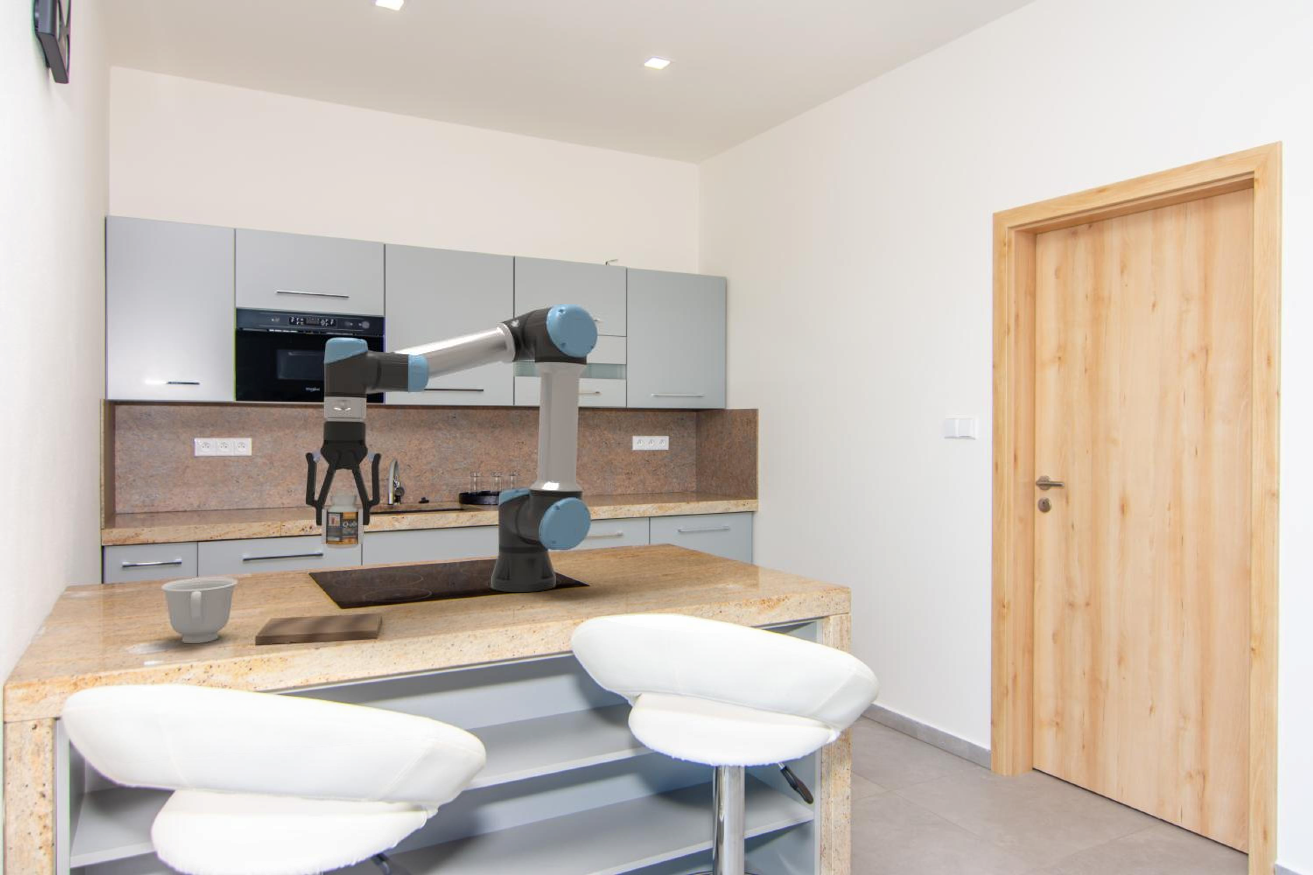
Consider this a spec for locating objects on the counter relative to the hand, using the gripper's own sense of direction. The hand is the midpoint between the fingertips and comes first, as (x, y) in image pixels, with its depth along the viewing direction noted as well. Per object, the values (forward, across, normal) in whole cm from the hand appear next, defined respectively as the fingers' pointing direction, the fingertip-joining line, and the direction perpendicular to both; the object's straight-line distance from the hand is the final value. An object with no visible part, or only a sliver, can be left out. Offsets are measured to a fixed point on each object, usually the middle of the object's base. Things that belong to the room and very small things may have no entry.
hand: (342, 542), depth 162 cm
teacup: (+16, -23, -7) cm, 29 cm away
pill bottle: (+1, 0, 0) cm, 1 cm away
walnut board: (+16, -3, -4) cm, 17 cm away
